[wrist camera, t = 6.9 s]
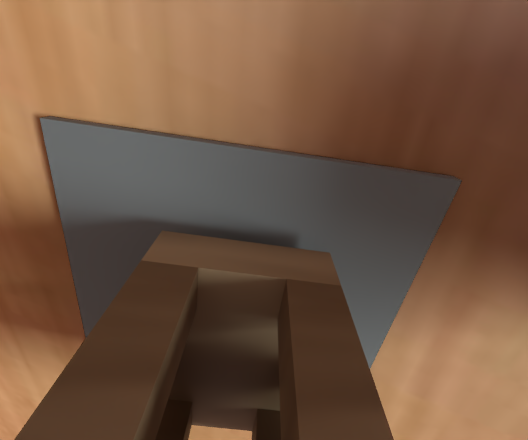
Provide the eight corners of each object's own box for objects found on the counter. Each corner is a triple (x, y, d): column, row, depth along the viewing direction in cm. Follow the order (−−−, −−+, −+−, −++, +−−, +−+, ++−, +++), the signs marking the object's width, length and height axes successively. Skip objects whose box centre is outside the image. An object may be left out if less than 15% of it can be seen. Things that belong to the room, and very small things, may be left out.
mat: (345, 405, 14) (347, 413, 14) (100, 379, 13) (96, 387, 13) (454, 176, 9) (462, 180, 8) (49, 116, 8) (39, 117, 8)
